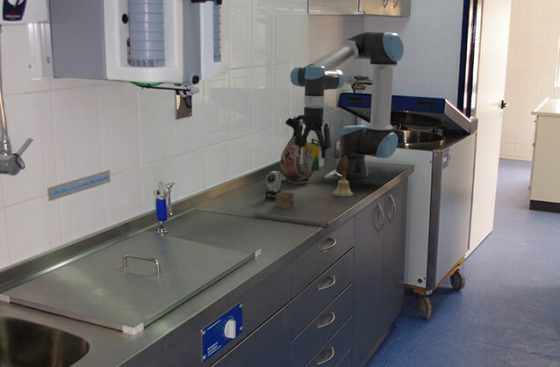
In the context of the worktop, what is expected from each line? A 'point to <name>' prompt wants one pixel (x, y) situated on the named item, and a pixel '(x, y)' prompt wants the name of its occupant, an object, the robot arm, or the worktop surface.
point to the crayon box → (312, 155)
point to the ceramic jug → (294, 158)
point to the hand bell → (343, 181)
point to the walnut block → (284, 199)
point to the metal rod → (292, 219)
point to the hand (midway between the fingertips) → (311, 164)
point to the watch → (273, 184)
